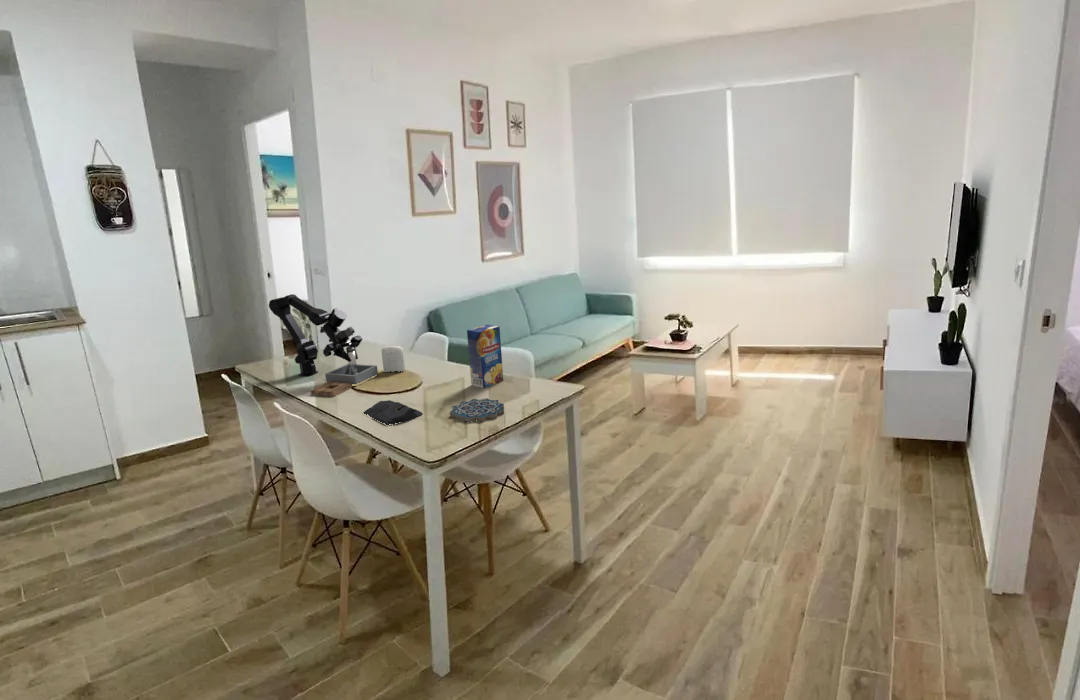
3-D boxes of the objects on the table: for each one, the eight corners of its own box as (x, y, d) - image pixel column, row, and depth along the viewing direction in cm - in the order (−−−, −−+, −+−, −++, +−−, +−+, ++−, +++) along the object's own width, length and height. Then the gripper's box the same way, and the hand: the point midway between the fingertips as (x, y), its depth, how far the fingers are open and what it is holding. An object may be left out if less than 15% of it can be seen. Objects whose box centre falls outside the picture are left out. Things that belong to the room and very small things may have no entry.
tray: (326, 384, 273) (325, 373, 272) (349, 373, 287) (348, 363, 286) (356, 386, 267) (355, 376, 266) (378, 375, 282) (376, 365, 281)
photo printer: (406, 369, 289) (403, 344, 285) (404, 372, 285) (401, 346, 281) (385, 370, 290) (382, 344, 287) (382, 372, 286) (379, 347, 282)
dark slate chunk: (394, 403, 245) (393, 392, 243) (425, 416, 229) (424, 404, 228) (359, 415, 235) (358, 403, 233) (389, 429, 219) (388, 416, 218)
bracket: (311, 394, 260) (310, 390, 259) (330, 385, 271) (329, 381, 270) (334, 396, 256) (333, 392, 255) (352, 387, 266) (351, 383, 266)
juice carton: (483, 388, 256) (479, 332, 250) (471, 385, 261) (466, 330, 255) (503, 380, 265) (499, 326, 259) (491, 377, 270) (487, 324, 263)
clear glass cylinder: (348, 375, 275) (345, 349, 271) (350, 372, 278) (347, 347, 275) (356, 374, 275) (353, 348, 271) (358, 372, 278) (355, 346, 275)
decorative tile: (485, 426, 216) (484, 420, 215) (440, 419, 226) (439, 413, 225) (514, 407, 233) (514, 401, 232) (471, 401, 242) (471, 395, 242)
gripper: (323, 327, 265) (344, 354, 262) (357, 318, 280) (377, 343, 277) (314, 342, 271) (334, 369, 268) (347, 333, 286) (367, 358, 283)
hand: (353, 359), depth 274 cm, fingers closed on clear glass cylinder, 4 cm apart
